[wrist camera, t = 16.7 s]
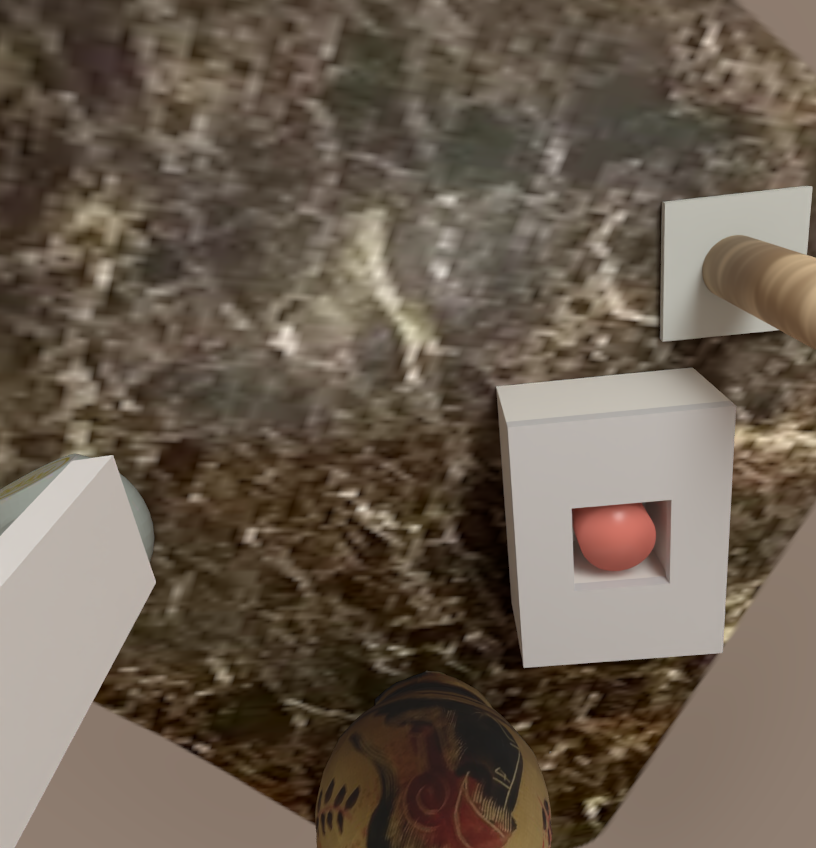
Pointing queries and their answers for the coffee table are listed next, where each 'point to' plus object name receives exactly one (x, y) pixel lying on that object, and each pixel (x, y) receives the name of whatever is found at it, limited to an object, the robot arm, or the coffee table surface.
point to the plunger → (614, 535)
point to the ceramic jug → (432, 775)
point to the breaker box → (611, 485)
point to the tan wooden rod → (765, 283)
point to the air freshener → (18, 495)
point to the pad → (698, 232)
